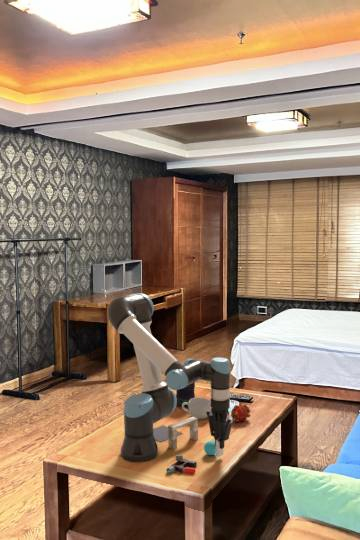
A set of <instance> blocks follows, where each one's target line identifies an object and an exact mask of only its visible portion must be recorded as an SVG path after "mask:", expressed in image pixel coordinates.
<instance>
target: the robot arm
mask: <svg viewBox="0 0 360 540" xmlns="http://www.w3.org/2000/svg"><path fill="white" fill-rule="evenodd" d="M106 310H107V311H106V316H107V319H108V321H109V323H110V324H111V326H112V327H113V329H114V330H115V331H116V332H117V333H118V334H123V335H124V336H125V337H126V338H127V339H128V340H129V342H131V343H132V344H133V350H134V353H135V356H136V360H137V364H138V370H139V372H140V376H141V380H142V385H143V386H142V388H141V390H140V392H141V393H137V394H132V395H129V396H128V397H127V398H126V399H125V400H124V403H123V421H124V422H123V423H124V425H123V426H124V437H123V441H122V445H121V448H120V456H121V458H122V459H124V460H125V461H127V462H131V463H132V462H136V463H140V462H141V463H142V462H143V463H144V462H147V461H151V460H154V459H155V458H156V457H157V456H158V455H159V447H158V446H159V445H158V444H157V441H156V440H155V438H154V435H153V429H154V424H155V423H157V422H159V421H160V420H162V419H164V418H167V417H169V416H170V415H171V414H172V413H174V411H175V409H176V408H177V406H176V405H177V398H176V392H175V391H176V390H179V389H182V388H185V387H186V386H187V385H189V384H192V383H194V382H195V383H196V382H198V381H206V382H209V383H210V401H211V404H210V406H211V410H210V411H207V412H206V414H207V416H208V417H207V420H208V424H209V432H210V437H213V438H214V442H215V446H216V453H215V456H216V457H218V458H219V457H221V456H224V448H225V441H227V440H229V439H230V435H231V430H232V425H233V423H234V421H235V419H234V418H232V416H231V415H230V412H229V409H230V407H231V405H230V404H231V403H230V400H231V399H230V397H231V394H230V393H231V389H230V388H231V386H230V385H231V383H230V382H231V364H230V363H231V362H230V360H229V359H228V358H225V357H213V358H212V359H211V360H210V361H206V360H202V359H198V358H197V359H196V358H187V359H186V360H185V361H184V362H183V363H181V362H180V361H179V360H178V359H177V358H176V357H175V356H174V355H173V354H172V353H171V352H170V351H169V350H167V348H166V347H165V346H164V345H162V344H161V343H160V342H159V341H158V339H157V338H155V337H154V336H153V334H152V331H151V327H150V326H151V324H152V322H153V321H152V320H153V319H152V316H153V314H154V312H155V305H154V302H153V301H152V299H151V297H150V296H148V295H147V294H145V293H141V292H139V293H138V292H137V293H136V292H134V293H131V294H127V295H126V294H125V295H123V296H122V295H121V296H117V297H115V298H114V299H112V300H111V301H110V302H109V304H108V306H107V309H106ZM162 374H163V375H164V376H165V381H164V379H163V376H162Z"/></svg>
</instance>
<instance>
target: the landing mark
mask: <svg viewBox="0 0 360 540" xmlns="http://www.w3.org/2000/svg"><path fill="white" fill-rule="evenodd" d="M182 434H183V432H181V431H179V430H177V437H178V436H179V435H182ZM153 435H154V438H155V441H156V442H160V443H162V442H164V441H168V426H166V425H159V426H157V427H153Z"/></svg>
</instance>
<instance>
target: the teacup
mask: <svg viewBox="0 0 360 540" xmlns="http://www.w3.org/2000/svg"><path fill="white" fill-rule="evenodd" d="M185 404H187V405H188V407H189V408H188V409H187V408H184V405H185ZM210 404H211V399H209V398H206V397H202V396H201V397H195V398H192V399H190V400H189V403H188V402H184V403H183V404H182V408H181V409H182V410H183V411H184V412H186V413H187V415H190V416H191V417H195V418H198V420H205V419H207V418H208V416H207V414H206V412H207V411H210V410H211V406H210Z"/></svg>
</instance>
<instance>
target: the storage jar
mask: <svg viewBox="0 0 360 540" xmlns="http://www.w3.org/2000/svg"><path fill="white" fill-rule="evenodd" d="M195 384H196V382H194V383H192V384H189V385H187V386H186V387H185V388H182V389H179V390H175V391H176V392H175V395H176V398H177V405H176V408H180V409H182V404H183V403H184V402H188V403H189V400H190V399H192V398H196V394H195V387H196V385H195ZM184 408H185V409H189V407H188V405H187V404H185V405H184Z"/></svg>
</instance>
